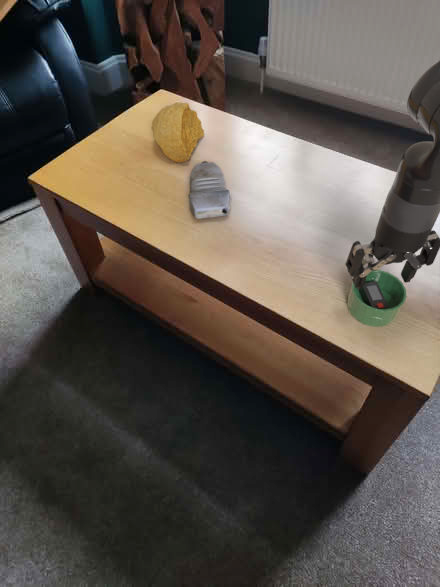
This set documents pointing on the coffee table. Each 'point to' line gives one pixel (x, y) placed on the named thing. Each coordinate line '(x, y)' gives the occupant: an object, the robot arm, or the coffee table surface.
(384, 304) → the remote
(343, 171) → the coffee table surface
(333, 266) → the coffee table surface
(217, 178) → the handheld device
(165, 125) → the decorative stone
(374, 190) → the coffee table surface
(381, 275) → the bowl
